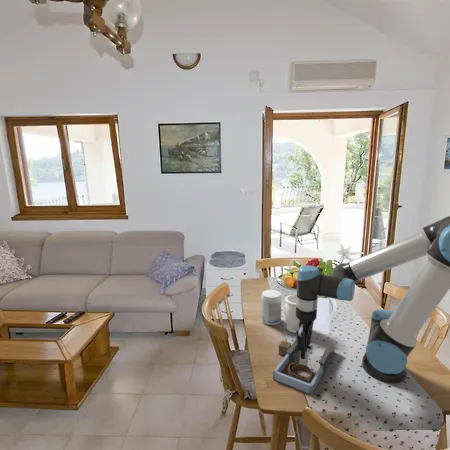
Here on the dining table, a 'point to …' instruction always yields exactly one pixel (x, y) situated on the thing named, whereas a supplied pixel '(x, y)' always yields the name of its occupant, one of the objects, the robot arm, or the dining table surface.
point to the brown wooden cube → (284, 347)
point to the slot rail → (324, 358)
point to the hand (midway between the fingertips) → (303, 364)
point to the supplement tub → (271, 307)
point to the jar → (291, 314)
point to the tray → (293, 381)
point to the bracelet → (298, 376)
